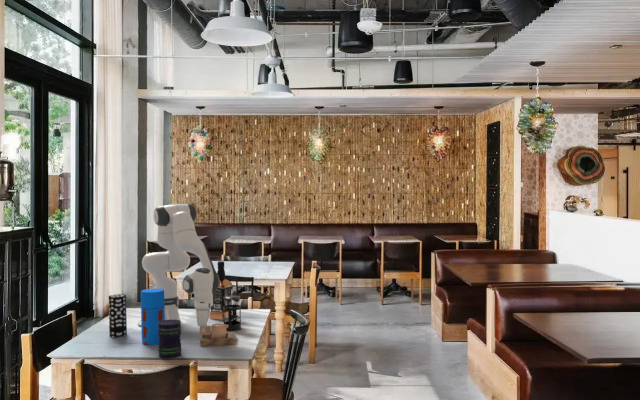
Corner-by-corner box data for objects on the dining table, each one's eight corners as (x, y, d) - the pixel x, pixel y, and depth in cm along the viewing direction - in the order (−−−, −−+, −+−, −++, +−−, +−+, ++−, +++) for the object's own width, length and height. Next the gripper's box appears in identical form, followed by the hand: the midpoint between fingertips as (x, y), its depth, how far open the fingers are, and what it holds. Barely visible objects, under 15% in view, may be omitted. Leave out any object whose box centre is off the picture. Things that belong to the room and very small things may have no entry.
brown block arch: (200, 346, 277) (200, 340, 277) (202, 338, 291) (202, 332, 291) (234, 344, 279) (234, 338, 279) (235, 337, 293) (235, 331, 293)
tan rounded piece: (229, 339, 288) (229, 323, 288) (226, 343, 281) (226, 326, 281) (201, 339, 288) (201, 323, 288) (198, 343, 281) (198, 326, 281)
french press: (238, 331, 303) (238, 287, 302) (220, 331, 304) (220, 287, 303) (243, 326, 315) (243, 283, 314) (226, 326, 316) (225, 283, 315)
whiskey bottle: (234, 316, 337) (233, 260, 337) (223, 320, 329) (222, 263, 328) (219, 315, 342) (218, 259, 341) (208, 318, 333) (207, 262, 333)
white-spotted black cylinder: (130, 333, 302) (129, 294, 301) (119, 338, 294) (118, 297, 293) (116, 332, 304) (115, 293, 304) (105, 336, 296) (104, 297, 296)
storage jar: (153, 356, 261) (153, 323, 261) (170, 351, 270) (169, 318, 269) (169, 360, 256) (169, 325, 256) (186, 354, 264) (185, 321, 264)
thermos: (152, 346, 278) (151, 293, 277) (137, 343, 284) (135, 291, 283) (169, 340, 287) (168, 289, 286) (154, 338, 293) (153, 287, 292)
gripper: (199, 298, 294) (200, 326, 294) (194, 306, 274) (194, 336, 274) (212, 298, 295) (213, 325, 295) (208, 306, 274) (208, 336, 275)
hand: (204, 331), depth 284 cm, fingers closed on tan rounded piece
